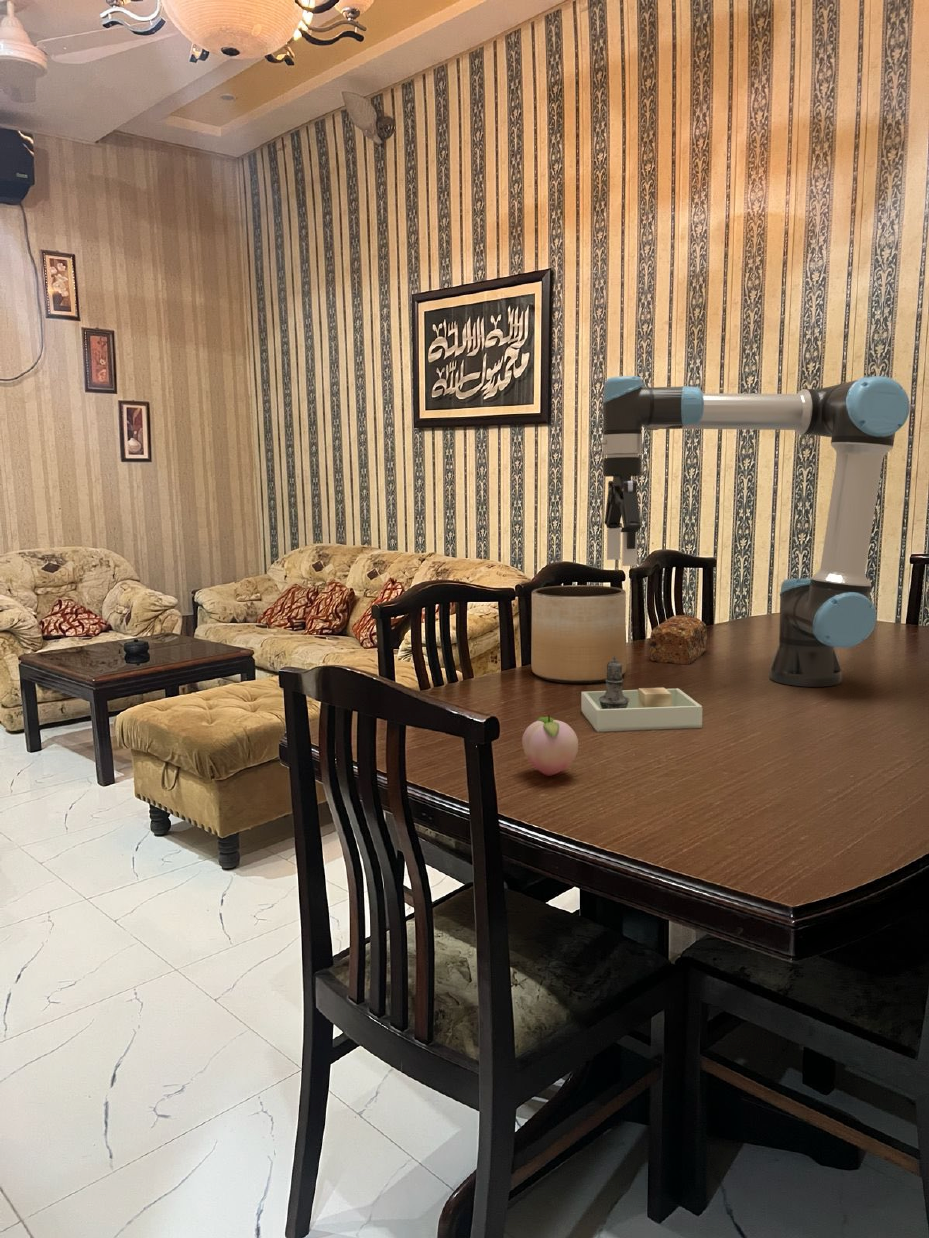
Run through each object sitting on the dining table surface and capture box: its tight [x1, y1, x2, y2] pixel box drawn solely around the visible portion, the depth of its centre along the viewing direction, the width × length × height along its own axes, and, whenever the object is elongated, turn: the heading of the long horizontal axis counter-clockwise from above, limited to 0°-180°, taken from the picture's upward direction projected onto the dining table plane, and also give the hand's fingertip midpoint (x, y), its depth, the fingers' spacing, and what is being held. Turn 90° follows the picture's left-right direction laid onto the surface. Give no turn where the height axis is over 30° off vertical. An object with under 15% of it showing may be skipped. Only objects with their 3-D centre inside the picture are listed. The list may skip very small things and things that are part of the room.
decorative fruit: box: [521, 713, 579, 777], centre depth 140 cm, size 9×8×10 cm
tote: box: [580, 687, 703, 733], centre depth 172 cm, size 20×15×4 cm
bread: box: [649, 614, 708, 666], centre depth 230 cm, size 19×11×10 cm, turn 151°
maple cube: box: [637, 687, 671, 708], centre depth 172 cm, size 5×5×5 cm
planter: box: [530, 584, 627, 684], centre depth 210 cm, size 22×22×20 cm
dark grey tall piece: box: [598, 656, 630, 709], centre depth 171 cm, size 6×6×12 cm
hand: (621, 562), depth 183 cm, fingers open, 13 cm apart
